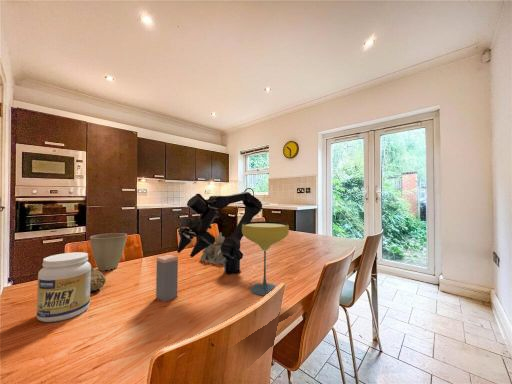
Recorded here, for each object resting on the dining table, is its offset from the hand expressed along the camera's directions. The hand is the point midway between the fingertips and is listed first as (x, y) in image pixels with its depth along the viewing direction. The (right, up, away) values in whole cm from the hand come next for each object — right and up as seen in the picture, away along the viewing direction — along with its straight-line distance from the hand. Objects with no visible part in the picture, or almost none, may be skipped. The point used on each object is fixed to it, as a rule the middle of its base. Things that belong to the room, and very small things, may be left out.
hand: (184, 254), depth 85 cm
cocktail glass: (+31, -13, -1) cm, 34 cm away
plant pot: (-44, -13, +21) cm, 50 cm away
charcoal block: (-3, -13, -8) cm, 15 cm away
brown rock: (-38, -13, 0) cm, 40 cm away
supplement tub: (-30, -12, -18) cm, 37 cm away
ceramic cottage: (+5, -14, +37) cm, 40 cm away
